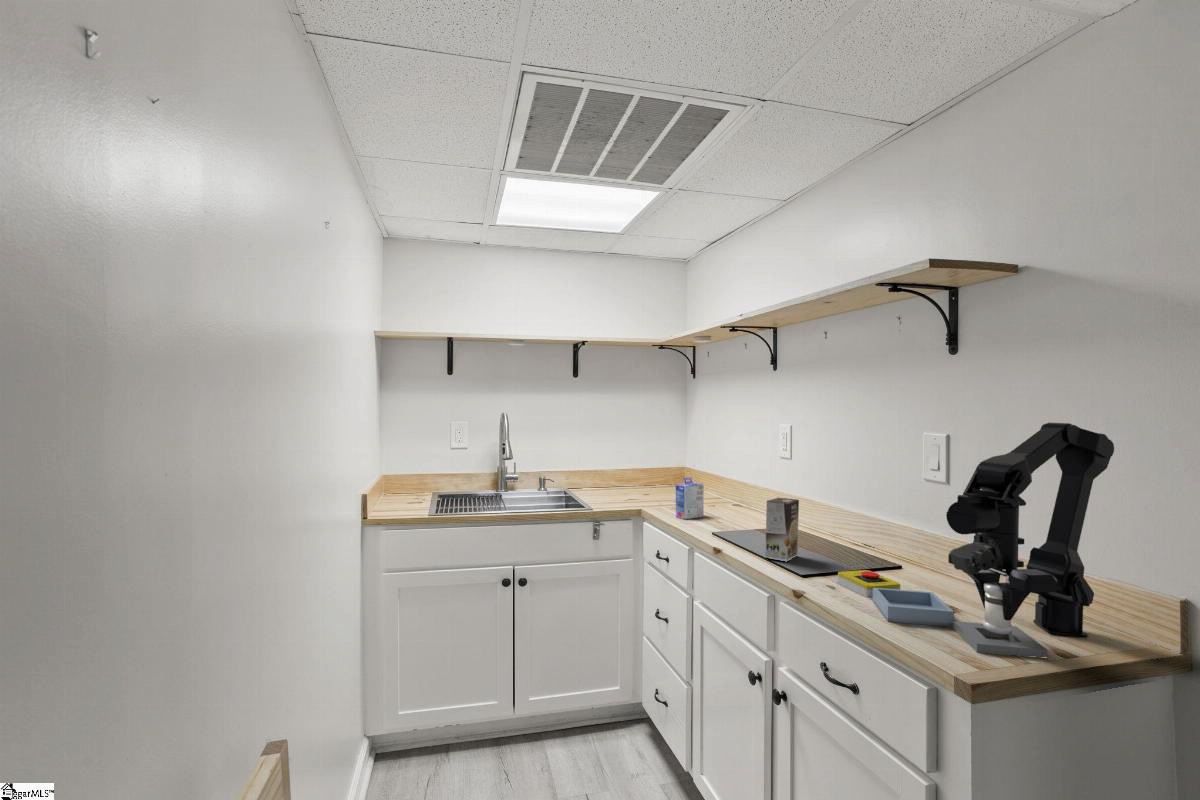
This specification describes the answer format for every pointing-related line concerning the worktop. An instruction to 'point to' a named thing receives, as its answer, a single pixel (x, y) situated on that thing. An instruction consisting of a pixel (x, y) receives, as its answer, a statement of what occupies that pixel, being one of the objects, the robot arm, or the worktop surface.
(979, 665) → the worktop surface
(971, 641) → the grey square frame
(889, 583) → the emergency button
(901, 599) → the parts tray
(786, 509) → the coffee box
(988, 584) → the frosted globe bulb
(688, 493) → the ink cartridge box
